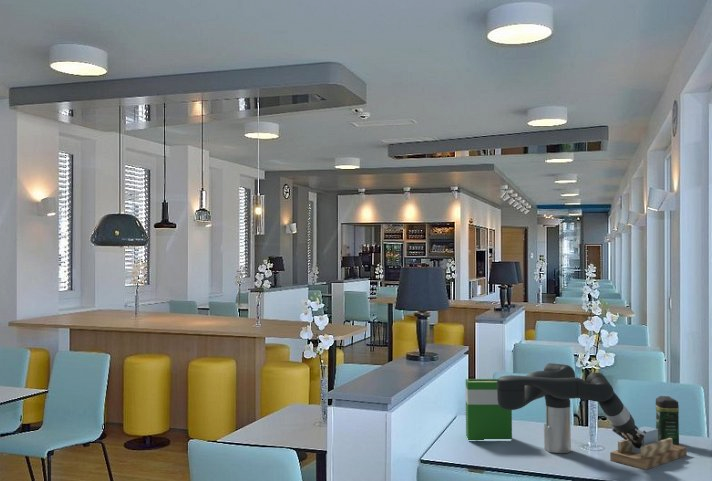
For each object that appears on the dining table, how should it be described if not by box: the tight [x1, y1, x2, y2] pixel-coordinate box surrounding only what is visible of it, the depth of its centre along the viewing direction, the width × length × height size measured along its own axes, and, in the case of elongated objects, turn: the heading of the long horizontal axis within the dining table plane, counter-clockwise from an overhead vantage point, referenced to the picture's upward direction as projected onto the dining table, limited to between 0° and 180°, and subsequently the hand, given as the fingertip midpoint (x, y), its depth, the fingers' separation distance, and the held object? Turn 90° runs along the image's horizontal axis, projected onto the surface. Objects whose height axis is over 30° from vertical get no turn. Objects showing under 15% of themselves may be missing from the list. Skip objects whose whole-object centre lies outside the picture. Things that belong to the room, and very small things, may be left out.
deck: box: [609, 438, 688, 471], centre depth 260 cm, size 28×14×7 cm, turn 127°
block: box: [632, 426, 658, 454], centre depth 258 cm, size 9×5×8 cm, turn 126°
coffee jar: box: [655, 395, 680, 446], centre depth 279 cm, size 10×8×19 cm
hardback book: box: [465, 378, 513, 441], centre depth 288 cm, size 18×7×24 cm, turn 88°
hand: (638, 446), depth 254 cm, fingers closed
